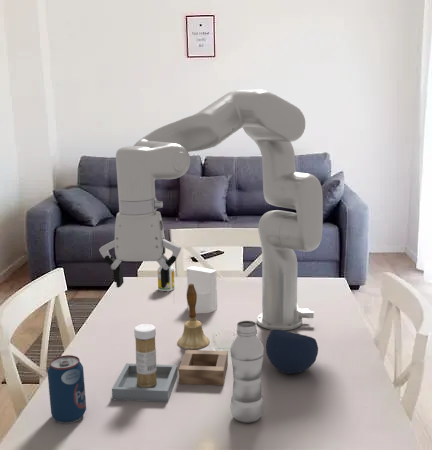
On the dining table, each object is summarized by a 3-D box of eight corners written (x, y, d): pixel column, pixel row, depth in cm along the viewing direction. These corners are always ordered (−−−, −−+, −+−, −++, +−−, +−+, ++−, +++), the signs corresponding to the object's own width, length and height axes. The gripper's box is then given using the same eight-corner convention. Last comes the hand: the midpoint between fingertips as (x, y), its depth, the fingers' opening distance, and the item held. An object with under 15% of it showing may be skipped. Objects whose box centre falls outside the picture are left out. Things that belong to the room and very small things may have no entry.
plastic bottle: (228, 410, 123) (227, 318, 118) (261, 408, 123) (261, 316, 119) (232, 428, 116) (230, 331, 112) (266, 425, 117) (266, 329, 112)
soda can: (86, 422, 119) (82, 367, 116) (50, 427, 118) (45, 371, 115) (86, 405, 126) (82, 352, 123) (52, 409, 124) (47, 355, 122)
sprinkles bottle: (153, 377, 136) (151, 321, 133) (160, 386, 132) (158, 329, 129) (133, 381, 134) (131, 325, 131) (140, 390, 130) (138, 332, 127)
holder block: (227, 364, 143) (227, 351, 142) (223, 385, 133) (223, 370, 132) (186, 363, 144) (185, 349, 143) (179, 383, 134) (178, 369, 133)
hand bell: (205, 350, 151) (204, 290, 147) (173, 348, 152) (171, 288, 149) (212, 337, 158) (211, 279, 155) (182, 335, 160) (180, 278, 156)
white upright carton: (223, 305, 181) (222, 267, 178) (206, 315, 174) (205, 275, 171) (198, 300, 186) (197, 263, 183) (181, 309, 178) (180, 271, 176)
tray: (177, 375, 138) (177, 365, 137) (168, 401, 126) (167, 391, 126) (126, 373, 139) (126, 363, 139) (112, 399, 128) (111, 388, 127)
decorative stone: (313, 386, 132) (314, 343, 130) (260, 379, 135) (260, 338, 133) (320, 362, 143) (321, 323, 140) (271, 357, 146) (271, 318, 144)
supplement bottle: (164, 293, 193) (163, 264, 191) (155, 289, 197) (153, 260, 195) (177, 289, 196) (176, 261, 194) (168, 285, 200) (167, 257, 198)
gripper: (182, 203, 126) (185, 280, 130) (102, 203, 128) (107, 279, 132) (175, 210, 119) (179, 292, 123) (91, 211, 121) (97, 291, 125)
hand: (142, 285), depth 128 cm, fingers open, 9 cm apart
